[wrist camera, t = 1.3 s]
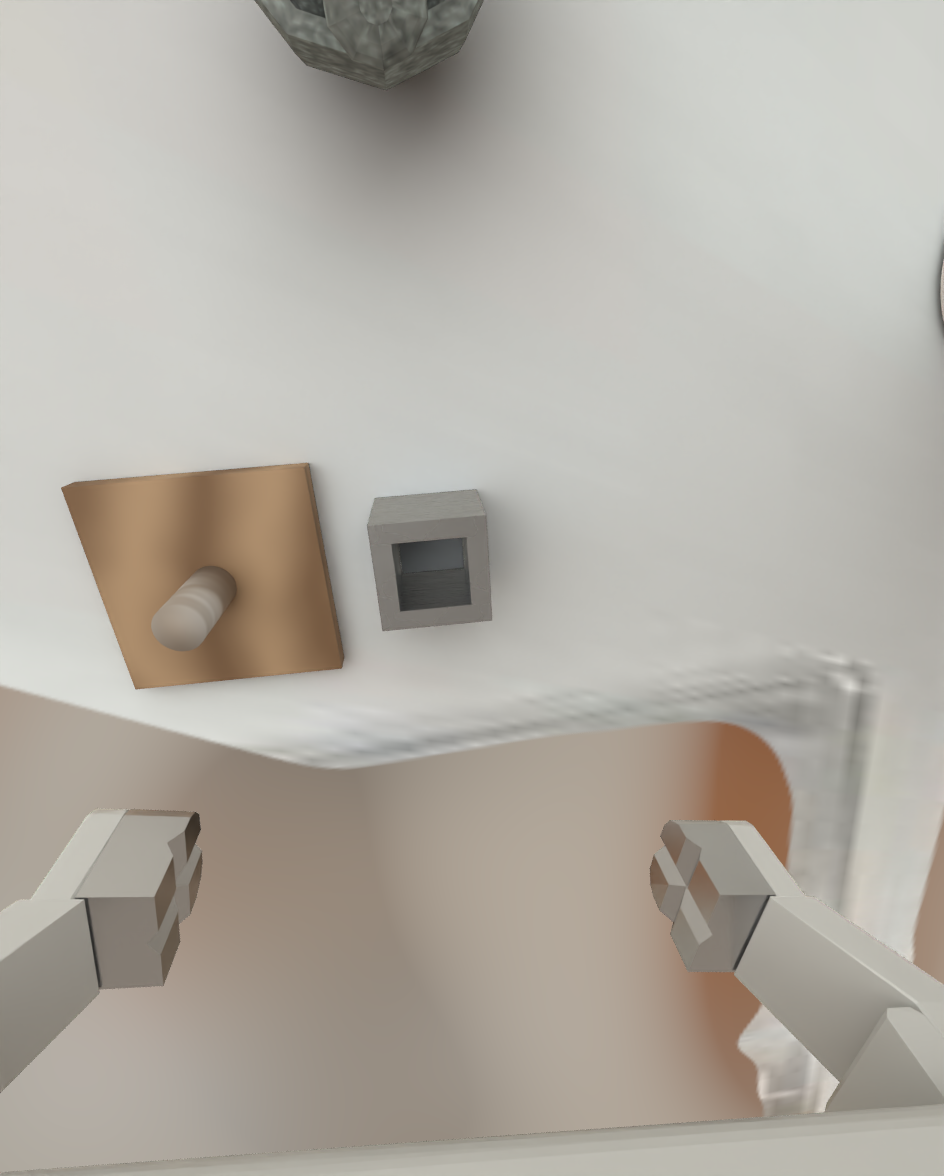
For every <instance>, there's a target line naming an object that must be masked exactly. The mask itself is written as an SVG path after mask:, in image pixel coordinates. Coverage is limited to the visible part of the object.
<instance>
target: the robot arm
mask: <svg viewBox="0 0 944 1176" xmlns="http://www.w3.org/2000/svg"><path fill="white" fill-rule="evenodd" d="M941 309H942V316H943V321H944V260H943V267H942V275H941ZM200 830H201V827H200V817H199V814H198V813H196V812H186V811H164V810H163V811H162V810H140V809H131V810H123V809H102V808H101V809H100V808H97V809H95V810H94V811H92V812H91V813H90V814H88V815H87V816H86V818H85V819H84V820H83V822H82V823H81V825H80V826H79V828H78V829H77V831H76V832H75V834H74V835H73V837H72V838H71V840H70V841H69V843H68V844H67V846H66V847H65V849H64V850H63V851H62V853H61V854H60V856H59V857H58V859H57V860H56V862H55V863H54V865H53V866H52V868H51V869H50V871H49V872H48V874H47V875H46V876H45V878H44V880H43V881H42V883H41V884H40V886H39V887H38V888H37V890H36V891H35V893H34V894H33V896H32V897H31V899H27V900H26V899H25V900H17V901H16V902H14V903H13V904H11V905H10V906H8V907H7V908H5V909H3V910H2V911H0V1093H1V1092H2V1091H3V1090H4V1089H5V1088H6V1087H7V1086H8V1085H9V1084H10V1083H11V1082H12V1081H13V1080H14V1079H15V1078H16V1077H17V1076H18V1075H19V1074H20V1073H21V1072H22V1071H23V1070H24V1069H25V1068H26V1067H27V1066H28V1065H29V1064H30V1063H31V1062H32V1061H33V1060H34V1059H35V1058H36V1057H37V1056H38V1055H39V1054H40V1053H41V1052H42V1051H43V1050H44V1049H45V1048H46V1047H47V1046H48V1045H49V1044H50V1043H51V1042H52V1041H53V1040H54V1039H55V1038H56V1036H58V1035H59V1034H60V1033H61V1032H62V1031H63V1030H64V1029H65V1028H66V1026H68V1025H69V1024H70V1022H72V1020H74V1019H75V1018H76V1017H77V1015H78V1014H80V1013H81V1012H82V1011H83V1010H84V1009H85V1008H86V1007H87V1006H88V1004H89V1003H90V1002H91V1001H92V1000H93V999H94V998H95V997H96V996H97V995H98V994H99V989H115V988H132V987H150V986H164V983H165V980H166V978H167V975H168V972H169V970H170V967H171V964H172V962H173V959H174V956H175V954H176V951H177V949H178V946H179V943H180V932H179V924H180V923H181V922H182V921H183V920H184V919H185V918H186V917H188V916H189V915H190V914H191V911H192V908H193V905H194V903H195V900H196V897H197V893H198V888H199V884H200V880H201V872H202V850H201V849H200V848H199V847H198V846H197V845H196V844H195V843H196V840H197V838H198V835H199V833H200ZM660 837H661V839H662V840H663V842H664V844H665V846H664V847H663V848H661V849H660V850H659V851H658V852H656V853H655V854H654V856H653V860H652V863H651V867H650V885H651V888H652V893H653V897H654V899H655V901H656V904H657V906H658V908H659V910H660V911H661V912H662V913H663V914H664V915H666V916H667V917H668V918H669V919H670V920H671V921H672V922H673V925H672V929H671V936H672V939H673V941H674V943H675V945H676V947H677V949H678V952H679V954H680V956H681V958H682V960H683V962H684V964H685V966H686V969H687V971H688V972H735V973H734V975H735V976H736V977H737V978H738V979H739V980H740V981H741V982H742V983H743V984H744V985H745V987H747V988H748V989H749V991H750V992H751V993H752V994H754V996H756V997H757V999H758V1000H759V1001H760V1002H761V1003H762V1004H763V1005H764V1006H765V1007H766V1008H767V1009H768V1010H769V1011H770V1012H771V1013H772V1014H773V1015H774V1016H775V1017H776V1018H777V1019H778V1020H779V1021H780V1022H781V1023H782V1024H783V1025H784V1026H785V1027H786V1028H787V1029H788V1030H789V1031H790V1032H791V1033H792V1034H793V1035H794V1036H795V1037H796V1038H797V1039H798V1040H799V1041H800V1042H801V1043H802V1044H803V1045H804V1046H805V1047H806V1048H807V1049H808V1050H809V1051H810V1052H811V1053H812V1054H813V1055H814V1056H815V1057H816V1058H817V1059H818V1060H819V1061H820V1063H821V1064H822V1065H823V1066H824V1067H825V1068H826V1069H827V1070H828V1071H829V1072H830V1073H831V1074H832V1075H833V1076H834V1077H835V1078H836V1079H837V1080H838V1081H839V1082H840V1083H839V1084H838V1086H837V1088H836V1089H835V1091H834V1092H833V1094H832V1096H831V1097H830V1099H829V1100H828V1102H827V1104H826V1109H825V1112H824V1113H811V1114H797V1115H783V1116H770V1117H756V1118H743V1119H728V1120H714V1121H701V1122H687V1123H673V1124H660V1125H646V1126H645V1125H644V1126H630V1127H617V1128H602V1129H590V1130H589V1129H588V1130H574V1131H560V1132H546V1133H533V1134H518V1135H505V1136H491V1137H477V1138H464V1139H451V1140H436V1141H423V1142H410V1143H395V1144H383V1145H368V1146H354V1147H341V1148H327V1149H314V1150H299V1151H286V1152H272V1153H258V1154H244V1155H231V1156H217V1157H203V1158H189V1159H176V1160H162V1161H150V1162H149V1161H148V1162H135V1163H120V1164H107V1165H95V1166H94V1165H93V1166H79V1167H65V1168H52V1169H38V1170H25V1171H11V1172H0V1176H944V985H943V984H942V983H940V982H939V981H937V980H936V979H935V978H933V977H932V976H930V975H929V974H927V973H926V972H924V971H923V970H921V969H920V968H918V967H917V966H915V965H914V964H912V963H911V962H910V961H908V960H907V959H905V958H904V957H902V956H901V955H899V954H898V953H896V952H895V951H893V950H892V949H890V948H889V947H887V946H886V945H885V944H883V943H882V942H880V941H879V940H877V939H876V938H874V937H873V936H871V935H870V934H868V933H867V932H865V931H864V930H862V929H861V928H859V927H858V926H857V925H855V924H854V923H852V922H851V921H849V920H848V919H846V918H845V917H843V916H842V915H840V914H839V913H837V912H836V911H834V910H833V909H832V908H830V907H829V906H827V905H826V904H824V903H823V902H821V901H820V900H818V899H817V898H815V897H814V896H805V895H804V893H803V892H802V891H801V889H800V888H799V887H798V885H797V884H796V882H795V881H794V880H793V878H792V877H791V876H790V874H789V873H788V872H787V870H786V869H785V868H784V866H783V865H782V864H781V863H780V861H779V860H778V858H777V857H776V856H775V854H774V853H773V852H772V850H771V849H770V848H769V846H768V845H767V843H766V842H765V841H764V839H763V838H762V837H761V835H760V834H759V833H758V832H757V830H756V829H755V827H754V826H753V825H751V824H750V823H748V822H747V821H692V820H690V821H689V820H684V821H683V820H670V821H669V822H668V823H666V824H665V826H664V828H663V830H662V833H661V836H660Z"/></svg>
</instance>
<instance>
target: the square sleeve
mask: <svg viewBox="0 0 944 1176" xmlns="http://www.w3.org/2000/svg"><path fill="white" fill-rule="evenodd" d="M367 528H368V535H369V542H370V549H371V555H372V562H373V569H374V576H375V582H376V589H377V596H378V603H379V609H380V616H381V623H382V630H383V631H389V630H400V629H410V628H420V627H430V626H440V625H450V624H460V623H470V622H480V621H491V620H492V607H491V590H490V573H489V555H488V538H487V521H486V513H485V511H484V508H483V505H482V503H481V500H480V498H479V495H478V492H477V490H476V489H474V490H463V491H451V492H440V493H428V494H417V495H405V496H393V497H382V498H375V499H374V503H373V506H372V510H371V513H370V517H369V521H368V524H367ZM451 538H462V545H463V558H464V568H459V569H448V570H437V571H427V572H416V573H406V574H403V572H402V564H401V556H400V548H399V543H407V542H418V541H429V540H440V539H451Z"/></svg>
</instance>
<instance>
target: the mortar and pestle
mask: <svg viewBox="0 0 944 1176" xmlns="http://www.w3.org/2000/svg"><path fill="white" fill-rule="evenodd" d="M255 2H256V3H257V4H258V6H259V7H260V8H261V10H262V11H263V12H264V13H265V15H266V16H267V17H268V19H269V20H270V21H271V22H272V24H273V25H274V26H275V28H276V29H277V30H278V32H279V33H280V34H281V35H282V37H283V38H284V39H285V41H286V42H287V43H288V45H289V46H290V47H291V48H292V50H293V51H294V52H295V54H296V55H297V56H298V57H299V58H300V59H301V60H302V61H303V62H304V63H305V64H306V65H307V66H310V67H313V68H317V69H320V70H323V71H326V72H329V73H333V74H336V75H339V76H342V77H345V78H349V79H352V80H355V81H358V82H362V83H365V84H368V85H371V86H374V87H378V88H381V89H384V90H388V89H390V88H392V87H394V86H396V85H398V84H400V83H401V82H403V81H405V80H407V79H409V78H411V77H413V76H415V75H417V74H419V73H420V72H422V71H424V70H426V69H428V68H430V67H432V66H434V65H436V64H438V63H439V62H441V61H443V60H445V59H447V58H449V57H451V56H453V55H455V54H457V53H458V52H459V50H460V49H461V47H462V45H463V43H464V42H465V40H466V38H467V36H468V33H469V31H470V29H471V27H472V25H473V22H474V20H475V18H476V16H477V14H478V11H479V9H480V7H481V5H482V3H483V0H255Z"/></svg>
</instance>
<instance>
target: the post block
mask: <svg viewBox="0 0 944 1176" xmlns="http://www.w3.org/2000/svg"><path fill="white" fill-rule="evenodd" d="M61 489H62V492H63V494H64V497H65V500H66V503H67V505H68V508H69V511H70V513H71V516H72V519H73V522H74V524H75V527H76V530H77V532H78V535H79V538H80V540H81V543H82V546H83V549H84V551H85V554H86V557H87V559H88V562H89V565H90V568H91V570H92V573H93V576H94V578H95V581H96V584H97V587H98V589H99V592H100V595H101V597H102V600H103V603H104V605H105V608H106V611H107V614H108V616H109V619H110V622H111V624H112V627H113V630H114V633H115V635H116V638H117V641H118V643H119V646H120V649H121V651H122V654H123V657H124V660H125V662H126V665H127V668H128V670H129V673H130V676H131V679H132V681H133V684H134V687H135V689H144V688H154V687H164V686H174V685H184V684H193V683H203V682H213V681H223V680H233V679H243V678H252V677H262V676H272V675H282V674H292V673H301V672H311V671H321V670H331V669H341V668H342V666H343V661H344V654H343V648H342V643H341V638H340V632H339V627H338V621H337V616H336V610H335V605H334V600H333V594H332V589H331V583H330V578H329V572H328V567H327V562H326V556H325V551H324V545H323V540H322V534H321V529H320V524H319V518H318V513H317V507H316V502H315V496H314V491H313V486H312V480H311V475H310V469H309V464H308V463H300V464H288V465H276V466H264V467H252V468H240V469H228V470H216V471H204V472H192V473H180V474H168V475H156V476H144V477H132V478H120V479H107V480H95V481H83V482H74V483H71V484H69V485H67V486H64V487H62V488H61Z"/></svg>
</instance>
